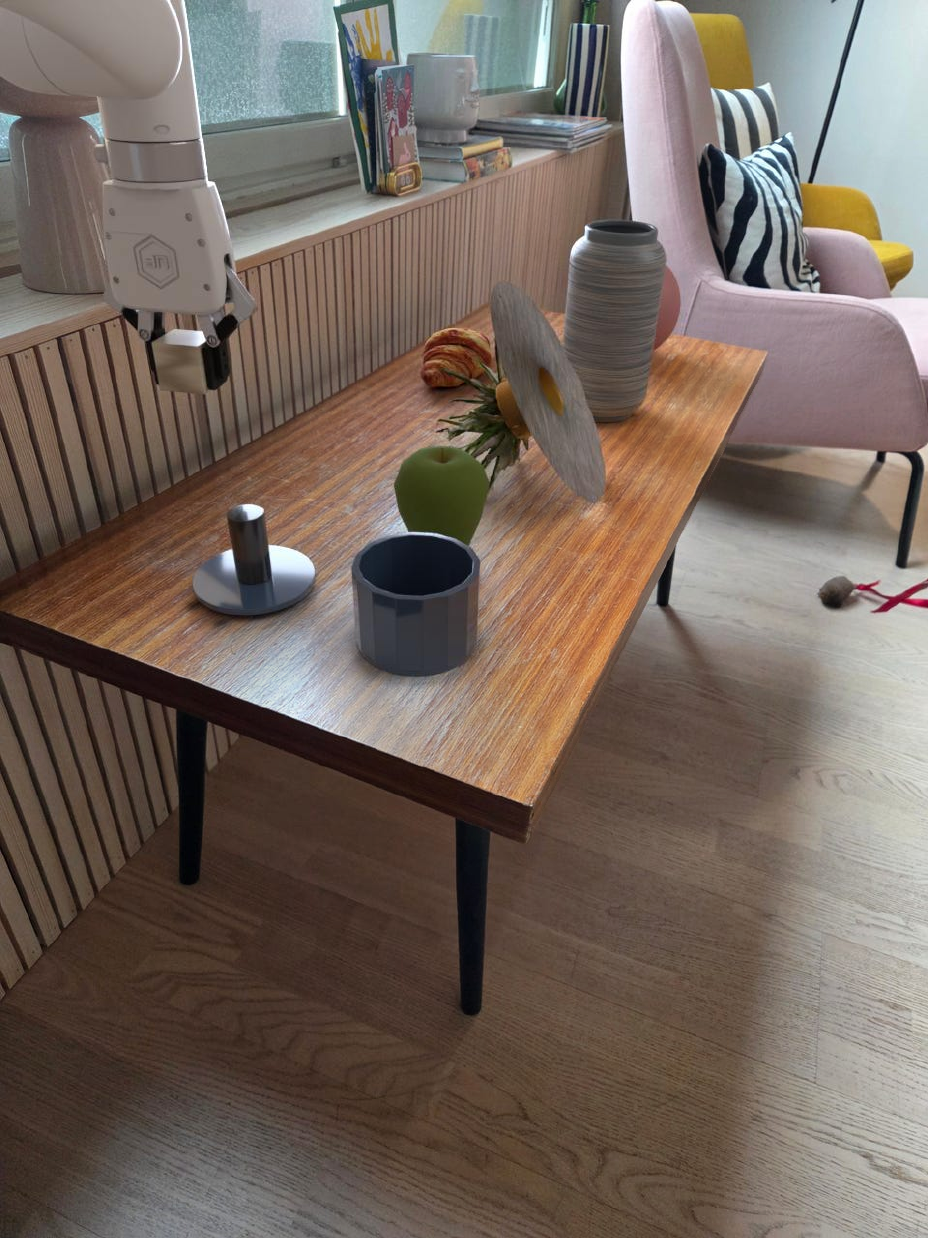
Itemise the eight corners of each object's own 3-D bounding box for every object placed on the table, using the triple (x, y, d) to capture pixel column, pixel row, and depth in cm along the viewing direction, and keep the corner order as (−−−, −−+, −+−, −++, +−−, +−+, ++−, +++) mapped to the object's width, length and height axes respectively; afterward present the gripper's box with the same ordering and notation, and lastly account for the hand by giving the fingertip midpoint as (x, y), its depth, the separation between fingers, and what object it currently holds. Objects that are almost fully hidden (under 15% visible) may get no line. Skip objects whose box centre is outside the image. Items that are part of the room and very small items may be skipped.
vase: (545, 397, 119) (559, 218, 105) (622, 391, 121) (645, 215, 108) (575, 430, 110) (595, 238, 96) (658, 423, 112) (688, 235, 99)
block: (159, 390, 79) (151, 342, 76) (181, 374, 82) (174, 328, 80) (204, 394, 78) (197, 346, 76) (224, 379, 82) (218, 332, 79)
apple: (380, 563, 82) (375, 453, 76) (427, 527, 88) (426, 421, 82) (457, 590, 79) (459, 477, 72) (501, 550, 85) (506, 442, 78)
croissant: (466, 369, 137) (445, 321, 134) (521, 348, 132) (500, 297, 129) (411, 413, 121) (386, 359, 118) (471, 390, 115) (446, 333, 112)
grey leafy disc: (535, 478, 114) (410, 332, 104) (647, 410, 104) (520, 241, 94) (496, 598, 96) (341, 436, 86) (627, 531, 86) (468, 338, 76)
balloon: (566, 379, 125) (577, 268, 116) (575, 337, 141) (585, 237, 132) (673, 388, 123) (692, 276, 114) (670, 344, 139) (686, 243, 130)
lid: (199, 630, 73) (184, 553, 69) (189, 565, 81) (175, 492, 77) (327, 608, 76) (320, 533, 72) (304, 548, 85) (297, 477, 80)
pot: (373, 686, 68) (369, 609, 63) (345, 615, 75) (340, 541, 71) (494, 663, 70) (498, 586, 66) (455, 596, 78) (456, 524, 74)
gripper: (36, 163, 68) (88, 387, 78) (236, 175, 65) (262, 405, 76) (88, 152, 74) (129, 362, 84) (273, 163, 71) (292, 377, 82)
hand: (192, 380), depth 80 cm, fingers closed on block, 4 cm apart
